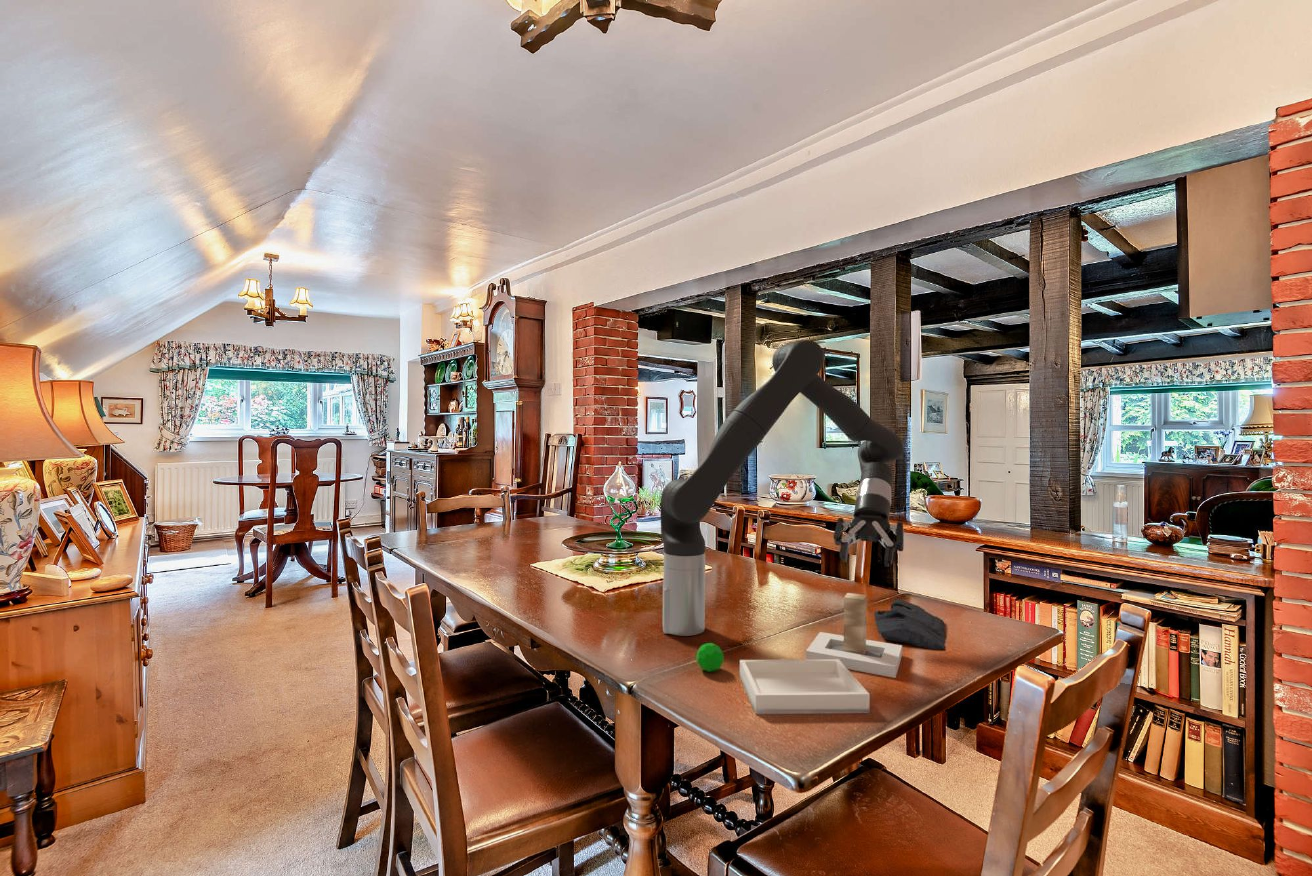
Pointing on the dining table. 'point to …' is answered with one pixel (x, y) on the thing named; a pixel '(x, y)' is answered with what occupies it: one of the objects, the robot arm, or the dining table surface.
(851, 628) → the wooden post on base
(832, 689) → the tray
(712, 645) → the polyhedron
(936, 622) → the dark slate chunk
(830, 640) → the slot plate
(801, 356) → the robot arm
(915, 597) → the dining table surface
